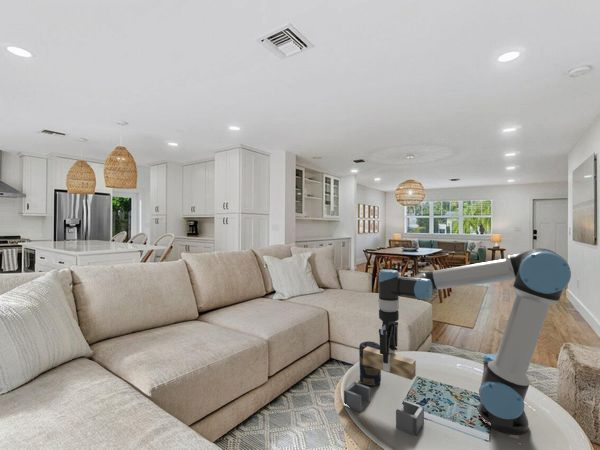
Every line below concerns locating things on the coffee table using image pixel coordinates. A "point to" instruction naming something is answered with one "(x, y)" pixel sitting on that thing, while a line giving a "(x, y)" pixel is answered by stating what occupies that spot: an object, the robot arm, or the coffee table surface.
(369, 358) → the slat
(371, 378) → the canister
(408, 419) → the endcap
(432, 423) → the coffee table surface
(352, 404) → the endcap
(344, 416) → the coffee table surface
